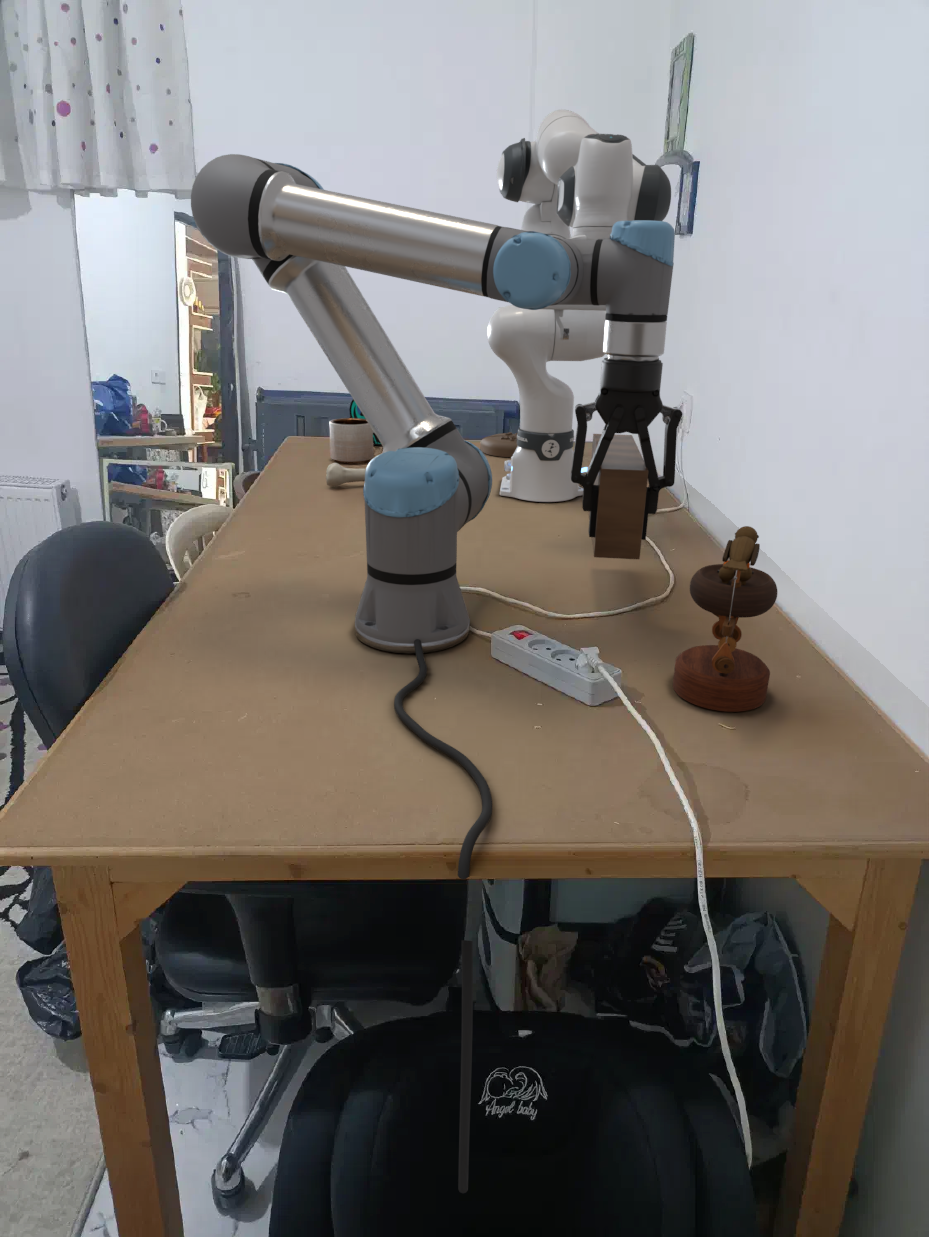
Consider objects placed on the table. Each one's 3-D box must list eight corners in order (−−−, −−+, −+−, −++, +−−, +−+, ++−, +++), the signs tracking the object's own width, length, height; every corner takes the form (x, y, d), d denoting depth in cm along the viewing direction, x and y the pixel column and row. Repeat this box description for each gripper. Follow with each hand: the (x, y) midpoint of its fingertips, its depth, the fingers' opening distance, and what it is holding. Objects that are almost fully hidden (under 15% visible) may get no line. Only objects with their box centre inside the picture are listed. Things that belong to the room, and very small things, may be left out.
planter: (327, 456, 217) (325, 418, 214) (369, 454, 220) (368, 417, 217) (334, 465, 208) (332, 425, 204) (377, 463, 211) (376, 424, 207)
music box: (784, 722, 91) (798, 544, 84) (680, 722, 93) (685, 548, 85) (755, 661, 105) (765, 505, 98) (665, 663, 107) (668, 509, 99)
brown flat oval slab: (485, 467, 208) (485, 449, 207) (478, 445, 234) (478, 430, 233) (570, 467, 209) (571, 450, 208) (554, 445, 235) (554, 430, 234)
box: (639, 559, 112) (648, 470, 107) (593, 557, 112) (601, 468, 108) (625, 509, 136) (632, 435, 131) (587, 508, 136) (593, 433, 132)
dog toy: (415, 481, 193) (415, 459, 191) (418, 487, 188) (418, 465, 186) (325, 483, 190) (324, 461, 188) (326, 489, 184) (325, 466, 182)
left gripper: (705, 356, 108) (684, 531, 117) (556, 352, 110) (546, 524, 118) (715, 362, 101) (692, 547, 110) (556, 358, 103) (545, 540, 112)
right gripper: (663, 250, 136) (654, 340, 141) (536, 248, 138) (532, 337, 143) (668, 249, 130) (659, 343, 135) (535, 247, 132) (531, 340, 137)
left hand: (616, 535), depth 114 cm, fingers closed on box, 6 cm apart
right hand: (593, 340), depth 139 cm, fingers open, 8 cm apart
